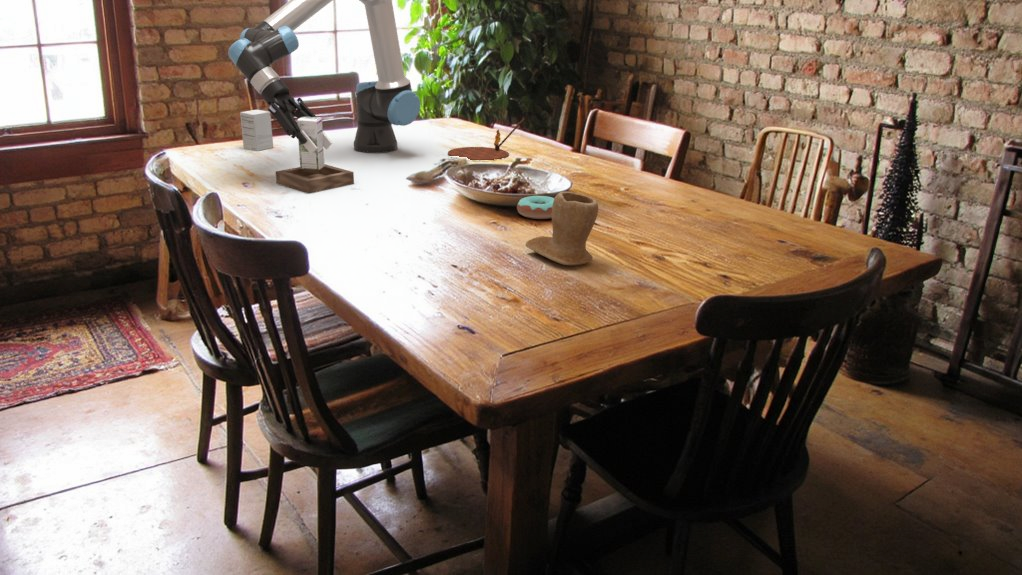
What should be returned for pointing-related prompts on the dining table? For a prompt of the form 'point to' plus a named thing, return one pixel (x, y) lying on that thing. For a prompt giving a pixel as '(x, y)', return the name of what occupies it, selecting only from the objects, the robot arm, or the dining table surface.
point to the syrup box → (315, 133)
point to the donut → (536, 207)
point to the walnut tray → (314, 178)
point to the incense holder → (483, 150)
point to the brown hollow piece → (568, 230)
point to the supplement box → (256, 130)
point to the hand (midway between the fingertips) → (321, 148)
